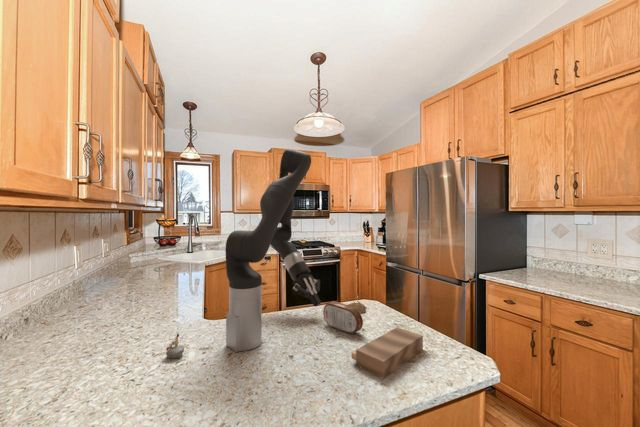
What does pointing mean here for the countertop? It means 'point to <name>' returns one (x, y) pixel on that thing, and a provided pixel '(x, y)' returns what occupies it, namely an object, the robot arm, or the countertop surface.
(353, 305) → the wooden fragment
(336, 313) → the tin
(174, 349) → the figurine
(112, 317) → the countertop surface
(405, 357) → the walnut plank
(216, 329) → the countertop surface
